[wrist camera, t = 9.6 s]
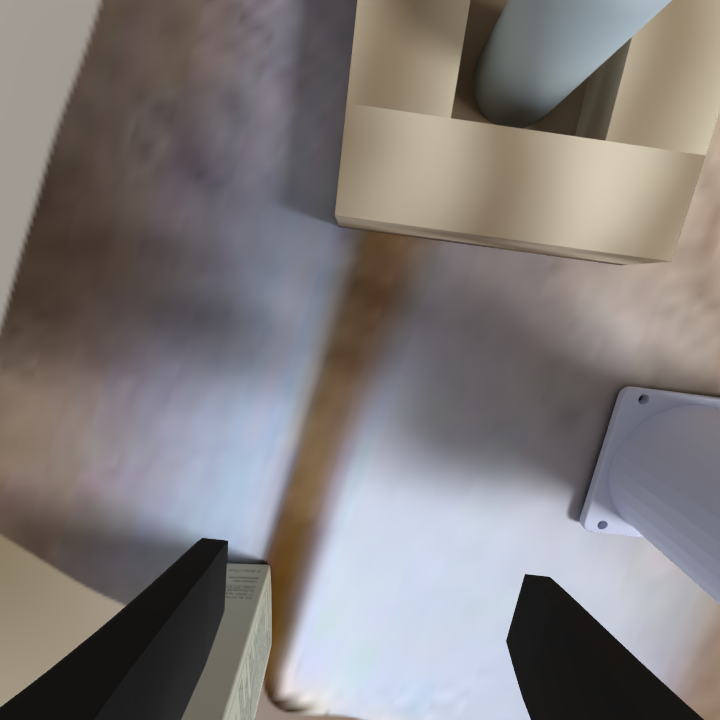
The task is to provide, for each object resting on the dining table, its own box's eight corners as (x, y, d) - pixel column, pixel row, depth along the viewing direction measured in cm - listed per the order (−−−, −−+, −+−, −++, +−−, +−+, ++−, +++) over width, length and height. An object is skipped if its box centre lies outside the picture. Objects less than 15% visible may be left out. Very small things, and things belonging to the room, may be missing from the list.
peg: (576, 38, 13) (747, -156, 7) (546, 138, 14) (678, 34, 8) (488, 14, 13) (592, -204, 7) (462, 117, 14) (536, -5, 8)
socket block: (723, -92, 13) (814, -186, 10) (620, 265, 16) (671, 261, 13) (380, -148, 12) (384, -260, 10) (339, 226, 15) (334, 215, 13)
